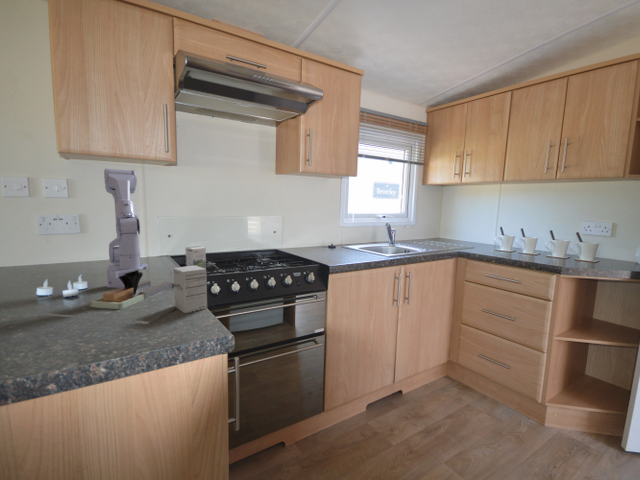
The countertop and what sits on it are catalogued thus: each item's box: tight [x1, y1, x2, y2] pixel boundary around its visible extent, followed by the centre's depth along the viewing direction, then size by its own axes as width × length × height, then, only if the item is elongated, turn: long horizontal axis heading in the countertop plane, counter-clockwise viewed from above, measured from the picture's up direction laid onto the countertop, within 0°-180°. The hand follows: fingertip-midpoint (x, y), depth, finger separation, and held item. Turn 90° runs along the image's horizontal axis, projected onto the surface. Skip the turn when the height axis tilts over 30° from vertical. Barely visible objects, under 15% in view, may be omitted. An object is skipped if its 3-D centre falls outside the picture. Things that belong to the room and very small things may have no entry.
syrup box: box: [185, 245, 207, 270], centre depth 130 cm, size 6×6×14 cm
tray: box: [88, 294, 146, 310], centre depth 101 cm, size 11×11×2 cm
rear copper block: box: [114, 287, 134, 301], centre depth 103 cm, size 4×4×4 cm
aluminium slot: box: [134, 280, 174, 300], centre depth 113 cm, size 12×14×3 cm
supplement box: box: [173, 265, 208, 314], centre depth 98 cm, size 7×7×13 cm
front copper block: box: [102, 289, 125, 303], centre depth 99 cm, size 4×4×4 cm
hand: (131, 294), depth 106 cm, fingers closed
